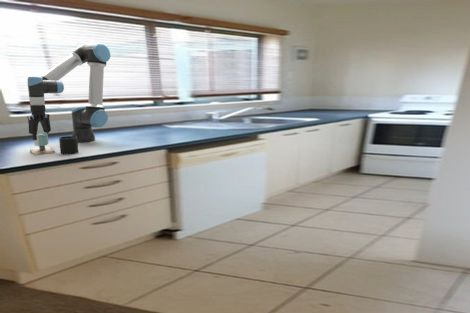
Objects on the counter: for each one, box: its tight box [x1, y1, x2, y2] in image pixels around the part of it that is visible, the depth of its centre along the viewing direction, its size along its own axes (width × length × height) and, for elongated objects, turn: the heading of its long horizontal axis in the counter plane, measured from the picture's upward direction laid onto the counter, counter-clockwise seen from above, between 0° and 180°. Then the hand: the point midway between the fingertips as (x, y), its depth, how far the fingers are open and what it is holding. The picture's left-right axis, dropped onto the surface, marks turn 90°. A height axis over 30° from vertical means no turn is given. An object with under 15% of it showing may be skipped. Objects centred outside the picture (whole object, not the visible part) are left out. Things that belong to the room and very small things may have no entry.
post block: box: [30, 145, 56, 156], centre depth 209 cm, size 11×11×5 cm
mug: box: [58, 135, 79, 155], centre depth 209 cm, size 9×12×9 cm
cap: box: [37, 133, 48, 147], centre depth 208 cm, size 6×6×6 cm
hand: (41, 144), depth 208 cm, fingers closed on cap, 6 cm apart
